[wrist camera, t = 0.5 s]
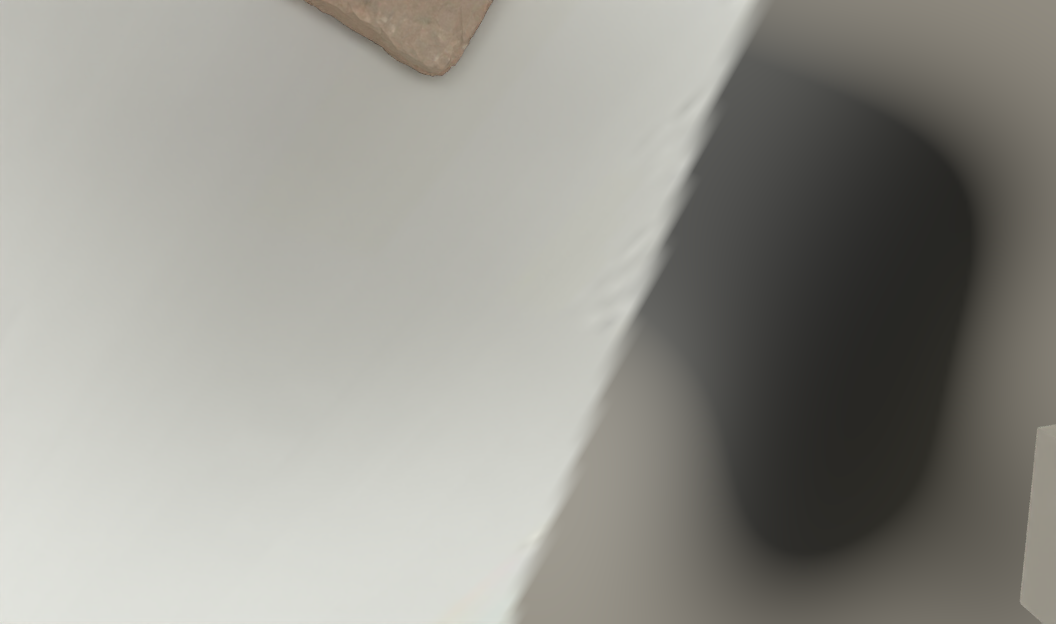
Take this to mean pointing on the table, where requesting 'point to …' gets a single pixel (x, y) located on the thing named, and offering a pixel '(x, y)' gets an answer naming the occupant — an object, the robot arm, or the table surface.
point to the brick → (413, 27)
